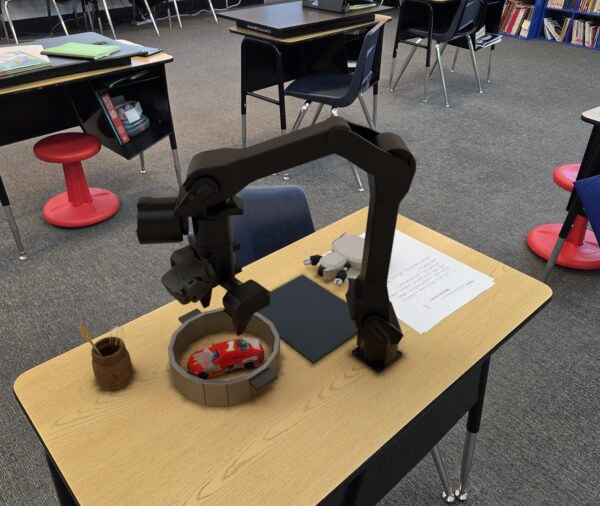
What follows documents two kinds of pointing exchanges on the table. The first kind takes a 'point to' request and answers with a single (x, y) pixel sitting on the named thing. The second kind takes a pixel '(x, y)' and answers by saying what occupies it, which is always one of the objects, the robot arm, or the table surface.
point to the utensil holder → (110, 361)
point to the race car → (226, 358)
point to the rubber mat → (309, 318)
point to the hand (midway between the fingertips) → (222, 320)
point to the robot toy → (339, 258)
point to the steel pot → (217, 390)
